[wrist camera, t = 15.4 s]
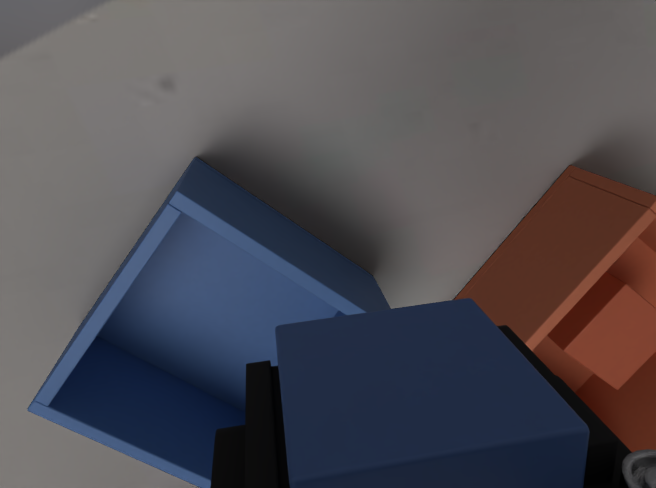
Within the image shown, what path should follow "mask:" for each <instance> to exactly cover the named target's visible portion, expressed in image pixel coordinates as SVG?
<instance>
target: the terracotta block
mask: <svg viewBox="0 0 656 488" xmlns="http://www.w3.org/2000/svg"><path fill="white" fill-rule="evenodd" d="M547 336H548V337H549V338H550V339H551V340H552V341H553V342H554V343H555V344H556V345H557V346H558V347H559V348H560V349H561V350H562V351H564V352H565V353H566V354H568V355H569V356H570V357H572V358H573V359H575V360H576V361H577V362H579V363H580V364H582V365H583V366H584V367H586V368H587V369H588V370H590V371H591V372H593V373H594V374H595V375H597V376H598V377H600V378H601V379H602V380H604V381H605V382H607V383H608V384H609V385H611V386H612V387H613V388H615V389H617V390H618V389H619V388H620V387H621V386H622V385H623V384H624V383H625V382H626V381H627V380H628V379H629V378H630V377H631V376H632V375H633V374H634V373H635V372H636V371H637V370H638V369H639V368H640V367H641V366H642V365H643V364H644V363H645V362H646V361H647V360H648V359H649V358H650V357H651V356H652V355H653V354H654V353H655V352H656V308H655V307H654V306H653V305H652V304H650V303H649V302H648V301H647V300H646V299H645V298H643V297H642V296H641V295H640V294H639V293H637V292H636V291H635V290H634V289H633V288H631V287H630V286H629V285H628V284H626V283H625V282H623V281H622V280H620V279H618V278H617V277H615V276H614V275H612V274H610V273H609V272H607V271H606V272H605V273H604V274H603V275H602V276H601V277H600V278H599V279H598V281H597V282H596V283H595V284H594V285H593V286H592V287H591V288H590V289H589V290H588V291H587V292H586V294H585V295H584V296H583V297H582V298H581V299H580V300H579V301H578V302H577V303H576V304H575V305H574V306H573V308H572V309H571V310H570V311H569V312H568V313H567V314H566V315H565V316H564V317H563V318H562V319H561V320H560V322H559V323H558V324H557V325H556V326H555V327H554V328H553V329H552V330H551V331H550V332H549V333H548V335H547Z"/></svg>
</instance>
